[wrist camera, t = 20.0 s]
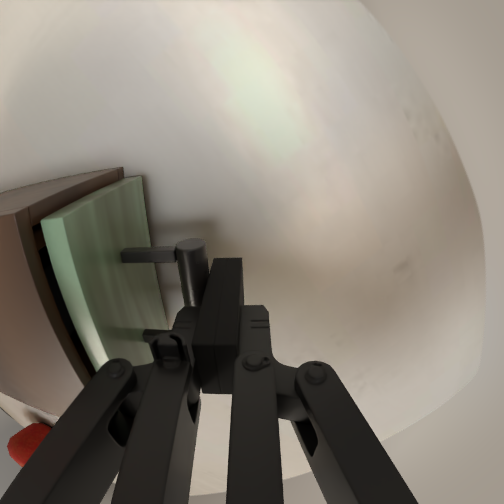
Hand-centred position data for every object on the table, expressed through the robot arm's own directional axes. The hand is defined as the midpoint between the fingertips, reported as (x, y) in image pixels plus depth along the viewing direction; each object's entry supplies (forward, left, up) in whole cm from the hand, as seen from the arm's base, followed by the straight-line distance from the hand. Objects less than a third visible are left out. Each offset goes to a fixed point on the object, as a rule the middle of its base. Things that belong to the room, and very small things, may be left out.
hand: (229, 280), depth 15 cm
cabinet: (+14, -2, -3) cm, 15 cm away
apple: (+41, +27, -3) cm, 49 cm away
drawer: (+10, -2, -2) cm, 10 cm away
